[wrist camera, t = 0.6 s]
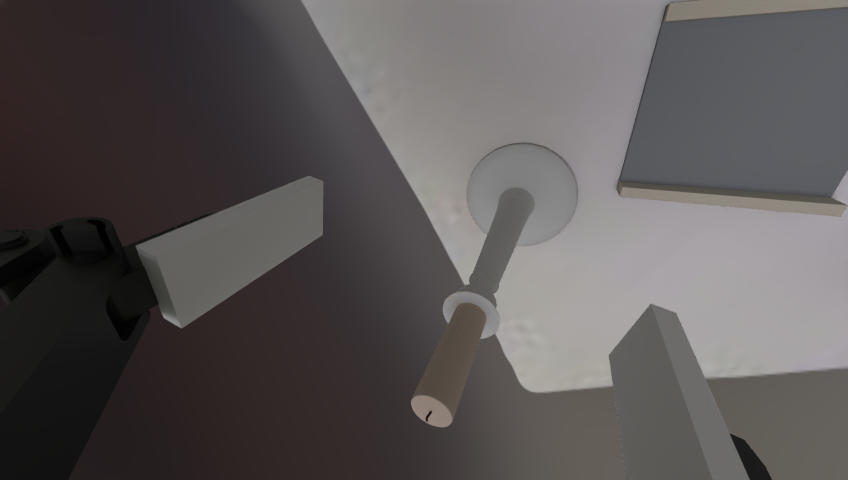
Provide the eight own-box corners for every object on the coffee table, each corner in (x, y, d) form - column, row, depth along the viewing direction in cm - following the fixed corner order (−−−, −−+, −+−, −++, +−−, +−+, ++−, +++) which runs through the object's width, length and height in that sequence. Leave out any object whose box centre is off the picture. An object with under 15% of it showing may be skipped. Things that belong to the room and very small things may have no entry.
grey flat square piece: (666, 6, 26) (674, 0, 24) (959, -22, 20) (1000, -33, 18) (616, 189, 33) (619, 196, 31) (821, 206, 28) (840, 216, 26)
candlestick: (511, 260, 42) (431, 521, 17) (448, 190, 41) (269, 360, 16) (602, 205, 34) (685, 522, 10) (528, 118, 34) (419, 231, 9)
